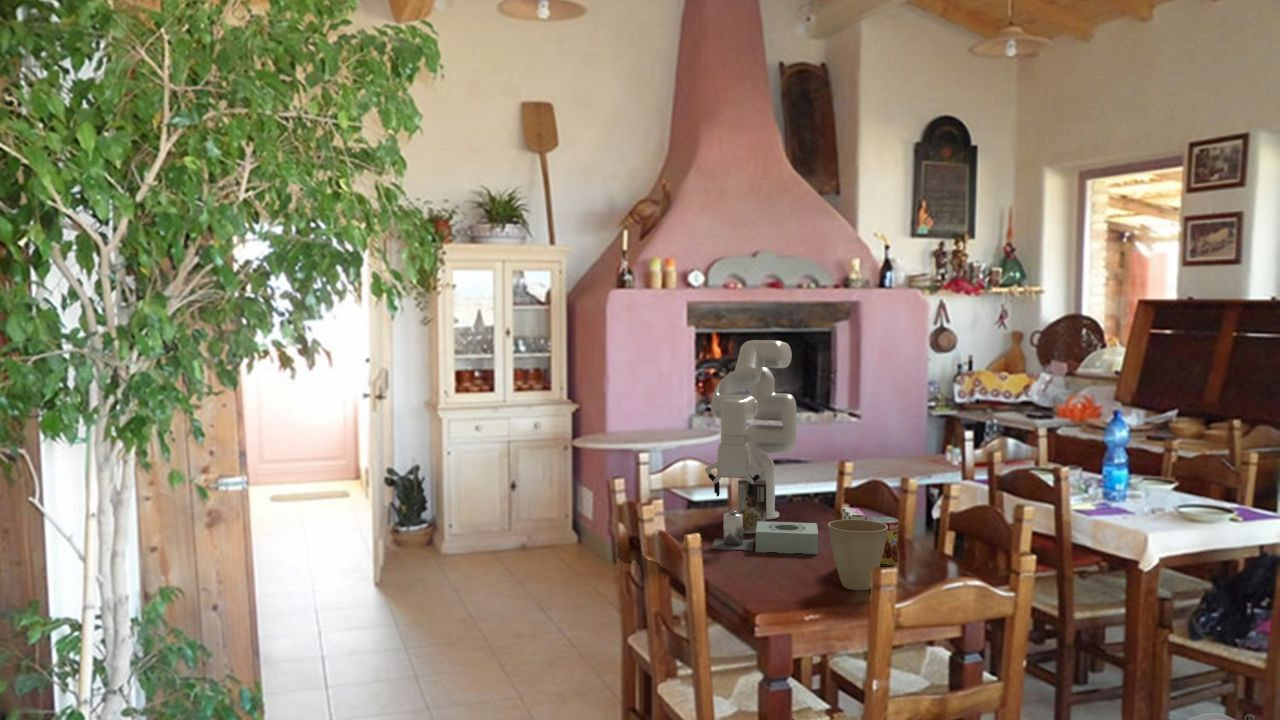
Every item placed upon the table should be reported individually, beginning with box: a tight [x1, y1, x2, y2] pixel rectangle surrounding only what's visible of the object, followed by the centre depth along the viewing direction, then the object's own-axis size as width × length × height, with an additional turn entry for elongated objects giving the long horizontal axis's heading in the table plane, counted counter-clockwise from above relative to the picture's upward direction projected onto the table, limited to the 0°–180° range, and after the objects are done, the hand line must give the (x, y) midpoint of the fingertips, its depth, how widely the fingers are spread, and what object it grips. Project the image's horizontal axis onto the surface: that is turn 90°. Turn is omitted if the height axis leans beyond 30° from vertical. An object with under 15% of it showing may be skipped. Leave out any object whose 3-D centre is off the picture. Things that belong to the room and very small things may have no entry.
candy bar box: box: [841, 507, 868, 520], centre depth 259 cm, size 11×5×16 cm, turn 178°
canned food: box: [869, 515, 899, 566], centre depth 269 cm, size 8×8×12 cm
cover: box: [723, 509, 744, 546], centre depth 287 cm, size 6×6×10 cm
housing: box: [755, 521, 819, 555], centre depth 285 cm, size 14×18×6 cm
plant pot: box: [827, 519, 888, 591], centre depth 244 cm, size 15×15×16 cm
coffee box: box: [737, 479, 768, 534], centre depth 305 cm, size 9×6×16 cm
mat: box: [711, 538, 755, 552], centre depth 287 cm, size 12×12×1 cm
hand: (733, 495), depth 287 cm, fingers open, 9 cm apart
